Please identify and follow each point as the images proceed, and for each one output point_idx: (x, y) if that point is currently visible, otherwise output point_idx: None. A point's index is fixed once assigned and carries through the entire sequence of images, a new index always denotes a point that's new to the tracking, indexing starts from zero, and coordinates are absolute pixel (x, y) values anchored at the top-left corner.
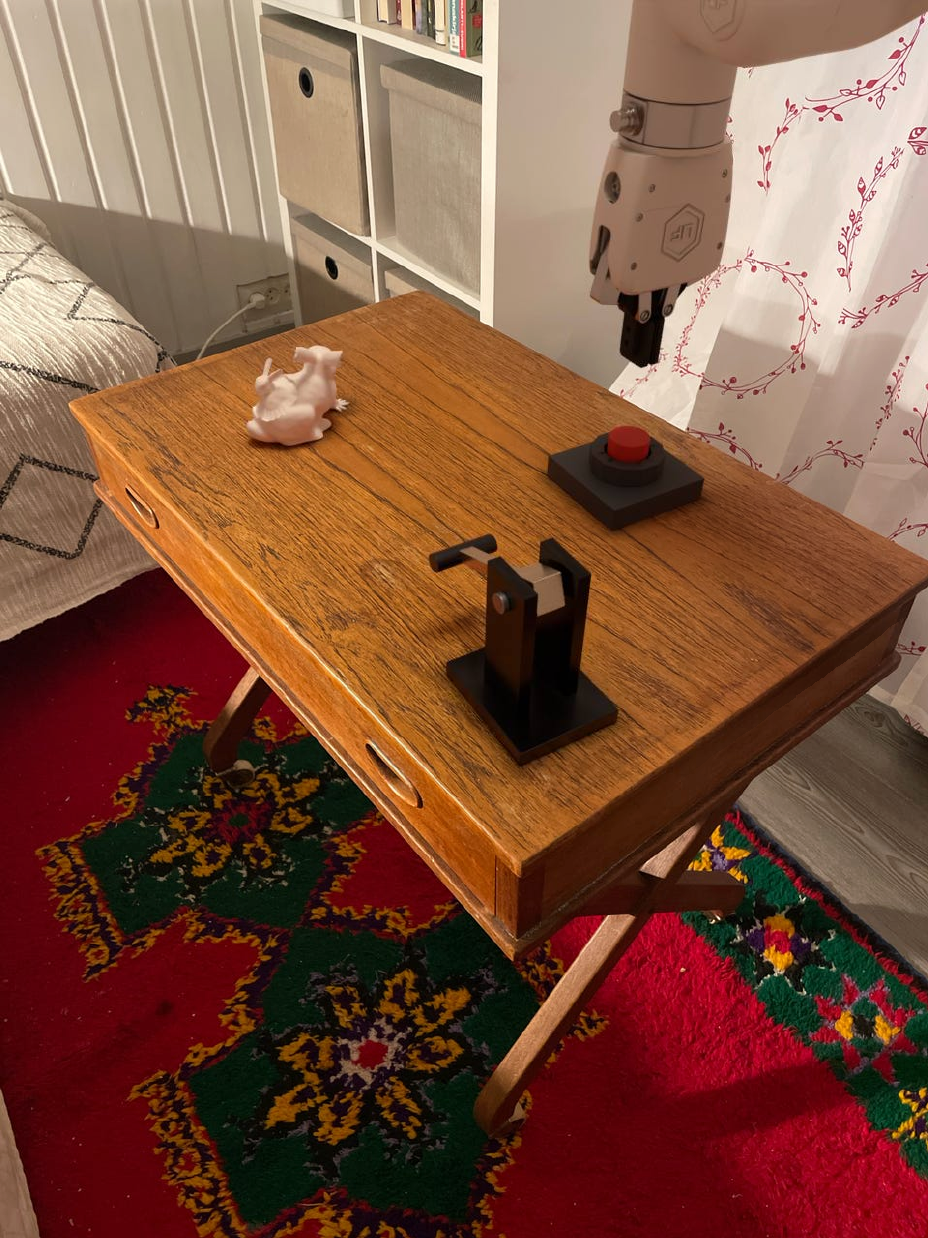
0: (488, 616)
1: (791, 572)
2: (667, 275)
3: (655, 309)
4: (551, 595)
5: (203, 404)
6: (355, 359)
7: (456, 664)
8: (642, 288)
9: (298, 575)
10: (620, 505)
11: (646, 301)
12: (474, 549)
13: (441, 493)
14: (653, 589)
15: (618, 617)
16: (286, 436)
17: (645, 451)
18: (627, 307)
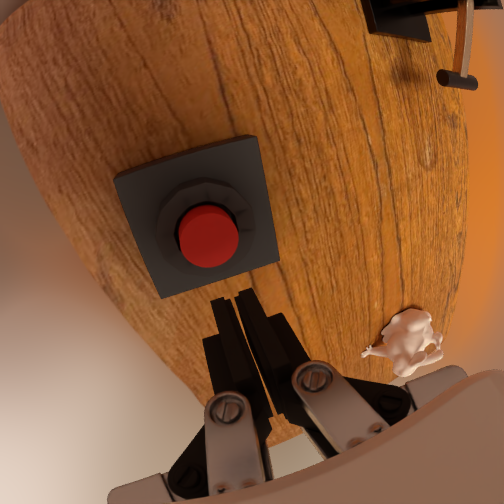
0: None
1: (90, 29)
2: (384, 492)
3: (261, 408)
4: None
5: None
6: None
7: (427, 36)
8: (463, 402)
9: (456, 172)
10: (245, 144)
11: (336, 411)
12: (463, 68)
13: (364, 239)
14: (249, 34)
15: (300, 17)
16: (418, 310)
17: (191, 214)
18: (374, 386)
